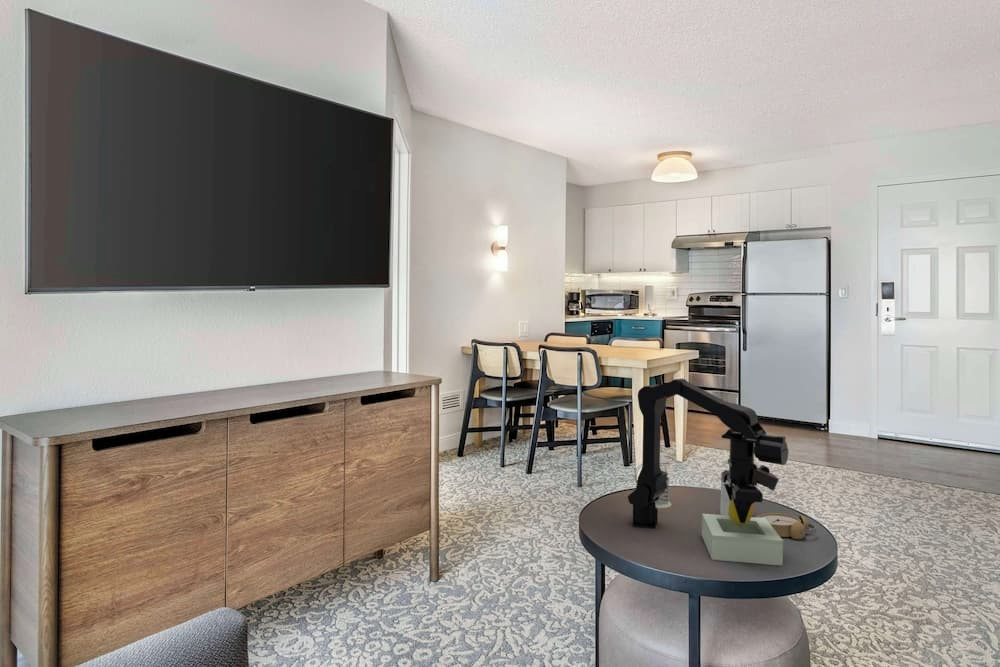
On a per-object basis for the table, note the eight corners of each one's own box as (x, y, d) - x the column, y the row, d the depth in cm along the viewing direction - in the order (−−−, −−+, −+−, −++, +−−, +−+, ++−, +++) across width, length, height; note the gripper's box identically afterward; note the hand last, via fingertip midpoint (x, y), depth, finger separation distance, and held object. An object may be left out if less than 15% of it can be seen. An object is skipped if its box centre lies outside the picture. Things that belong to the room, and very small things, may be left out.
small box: (738, 520, 170) (739, 476, 170) (719, 514, 175) (720, 471, 175) (754, 515, 175) (755, 472, 174) (734, 509, 180) (735, 467, 179)
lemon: (753, 531, 145) (754, 499, 145) (730, 529, 146) (731, 497, 146) (748, 523, 150) (749, 493, 150) (726, 522, 151) (727, 491, 151)
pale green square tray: (711, 559, 142) (712, 535, 142) (701, 535, 158) (702, 513, 157) (782, 565, 139) (783, 540, 139) (764, 540, 155) (765, 518, 154)
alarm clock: (761, 511, 170) (818, 513, 161) (764, 528, 170) (821, 531, 160) (750, 521, 161) (809, 524, 152) (753, 539, 161) (813, 543, 152)
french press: (676, 508, 180) (677, 427, 180) (638, 508, 180) (640, 427, 179) (666, 498, 190) (667, 422, 189) (631, 498, 190) (632, 421, 189)
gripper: (786, 469, 137) (784, 534, 137) (765, 451, 155) (764, 509, 156) (736, 466, 139) (734, 531, 139) (721, 449, 157) (720, 506, 158)
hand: (739, 518), depth 148 cm, fingers closed on lemon, 5 cm apart
